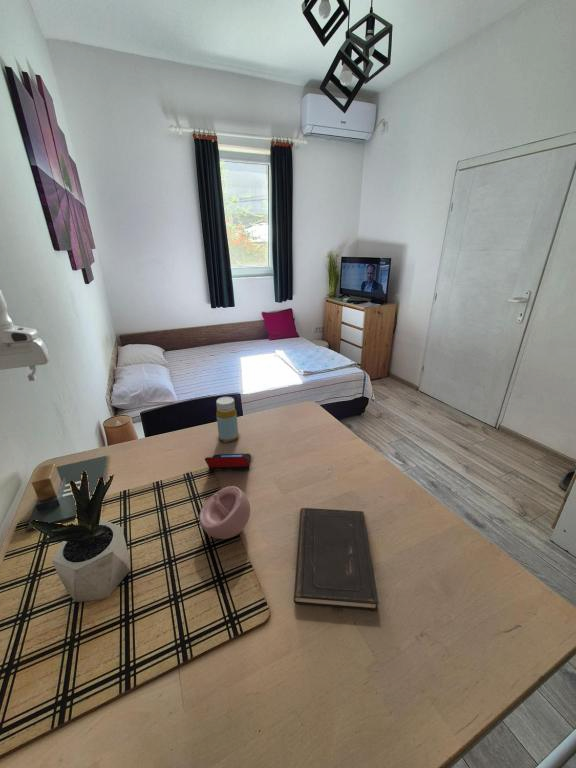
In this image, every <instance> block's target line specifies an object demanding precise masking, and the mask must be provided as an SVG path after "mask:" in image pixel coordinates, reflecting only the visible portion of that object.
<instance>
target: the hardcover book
mask: <svg viewBox="0 0 576 768" xmlns="http://www.w3.org/2000/svg"><path fill="white" fill-rule="evenodd" d="M299 511H300V512H299V523H298V534H297V535H298V537H297V548H296V549H297V551H296V563H295V577H294V589H293V590H294V591H293V603H294V604H296V605H302V606H303V605H304V606H315V607H325V608H326V607H327V608H337V609H348V610H349V609H350V610H362V611H373V612H378V605H379V603H380V602H379V598H378V592H377V591H378V590H377V586H376V579H375V573H374V567H373V561H372V555H371V549H370V548H371V547H370V542H369V536H368V530H367V525H366V524H367V523H366V518H365V517H366V516H365V512H364V511H363V510H347V509H332V508H330V509H329V508H315V507H314V508H313V507H301V508H300V510H299Z"/></svg>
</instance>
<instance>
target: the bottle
mask: <svg viewBox="0 0 576 768" xmlns="http://www.w3.org/2000/svg"><path fill="white" fill-rule="evenodd" d="M215 405H216V412H215V415H216V424H217V433H218V438H219V440H220V441H221V442H224V443H231V442H234V441H235V440H237V439H238V438H239V427H238V415H237V409H236V406H235V399H234V397H232V396H222V397H221V396H220V397H219V398H217V399H216V401H215Z"/></svg>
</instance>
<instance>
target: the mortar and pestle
mask: <svg viewBox="0 0 576 768" xmlns="http://www.w3.org/2000/svg"><path fill="white" fill-rule="evenodd" d="M248 498H249V497H247V494H245V492H244V491H243V490H242V489H240V488H239V487H237V486H234V485H232V486H231V485H229V486H226V487H223V488H221V489H219V490H218V491H216V492H215V493H214V494H212V495H211V496H210V497H209V498H208V499H207V500H206V502H205V503H204V504H203V506H202V508H201V510H200V512H199V520H198V521H199V524H200V526H201V527H202V529H203V530H204V532H205V533H206V534H207V535H209V536H210V537H211V538H214V539H218V540H228V539H231V538H233V537H236V536H237V535H239V534H240V533H241V532H242V531H243V530H244V529H245V528H246V526H247V525H248V523H249V520H250V516H251V505H250V501H249V499H248Z"/></svg>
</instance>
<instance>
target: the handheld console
mask: <svg viewBox="0 0 576 768" xmlns="http://www.w3.org/2000/svg"><path fill="white" fill-rule="evenodd" d="M251 457H252V455H251V454H250V453H216V454H214V455H212V456H211V457H205V458H204V461H205V463H206V465H207V467H208V470H209V471H211V472H213V471H214V472H215V471H228V470H231V471H240V470H241V471H243V470H245V471H247V470H248V471H249V469H250V466H251Z"/></svg>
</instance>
